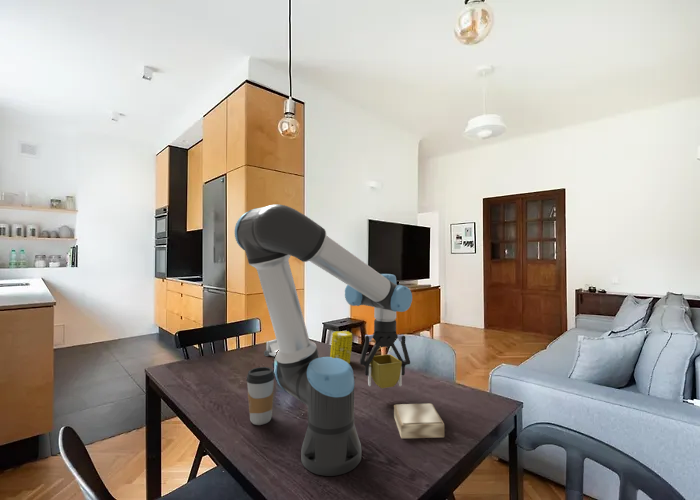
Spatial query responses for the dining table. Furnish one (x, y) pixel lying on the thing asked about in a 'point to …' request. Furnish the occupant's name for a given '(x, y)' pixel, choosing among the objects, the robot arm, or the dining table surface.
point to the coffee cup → (260, 394)
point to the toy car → (271, 348)
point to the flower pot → (385, 370)
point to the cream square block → (418, 421)
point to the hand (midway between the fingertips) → (384, 384)
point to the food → (341, 345)
